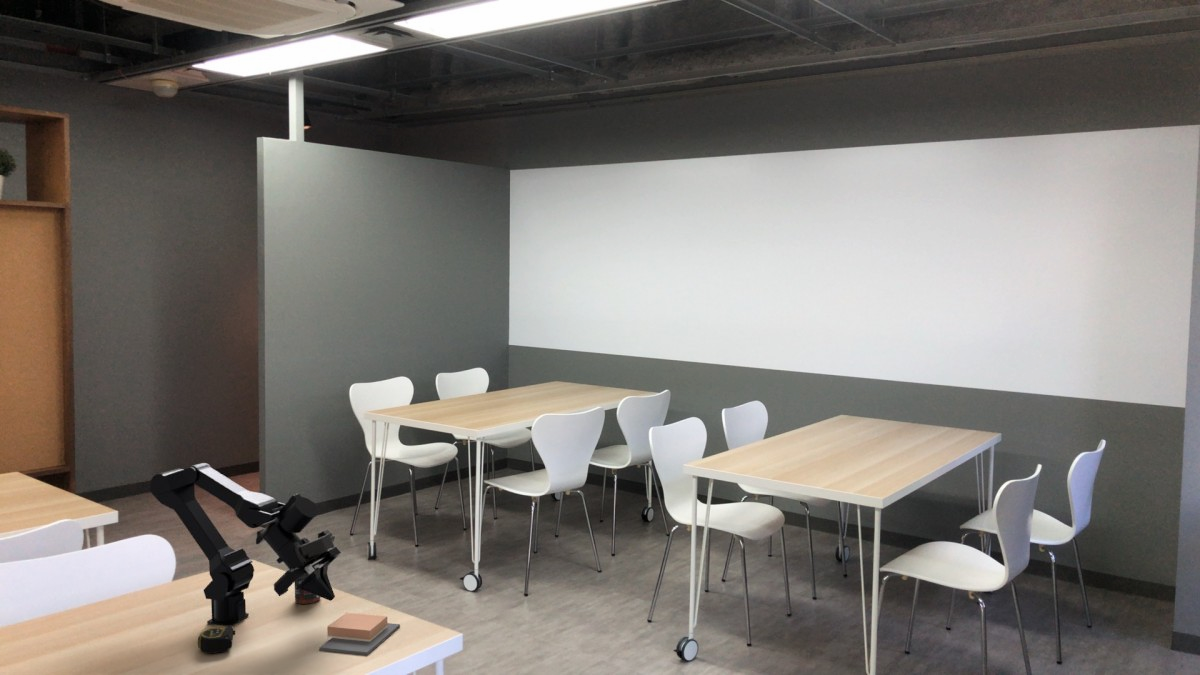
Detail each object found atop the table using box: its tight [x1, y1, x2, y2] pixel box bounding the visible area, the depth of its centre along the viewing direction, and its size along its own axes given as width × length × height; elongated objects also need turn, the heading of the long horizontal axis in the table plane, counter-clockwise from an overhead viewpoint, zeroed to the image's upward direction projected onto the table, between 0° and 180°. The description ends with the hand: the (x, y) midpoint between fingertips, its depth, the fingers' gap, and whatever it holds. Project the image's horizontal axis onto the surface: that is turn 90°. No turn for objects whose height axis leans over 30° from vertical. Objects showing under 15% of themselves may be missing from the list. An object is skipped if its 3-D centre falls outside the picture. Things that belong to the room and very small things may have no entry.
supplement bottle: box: [294, 580, 322, 605], centre depth 205 cm, size 6×6×11 cm
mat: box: [318, 622, 401, 656], centre depth 184 cm, size 11×15×1 cm
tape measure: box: [197, 626, 236, 654], centre depth 178 cm, size 7×7×4 cm
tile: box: [326, 612, 388, 642], centre depth 185 cm, size 2×8×10 cm
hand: (332, 598), depth 186 cm, fingers closed
